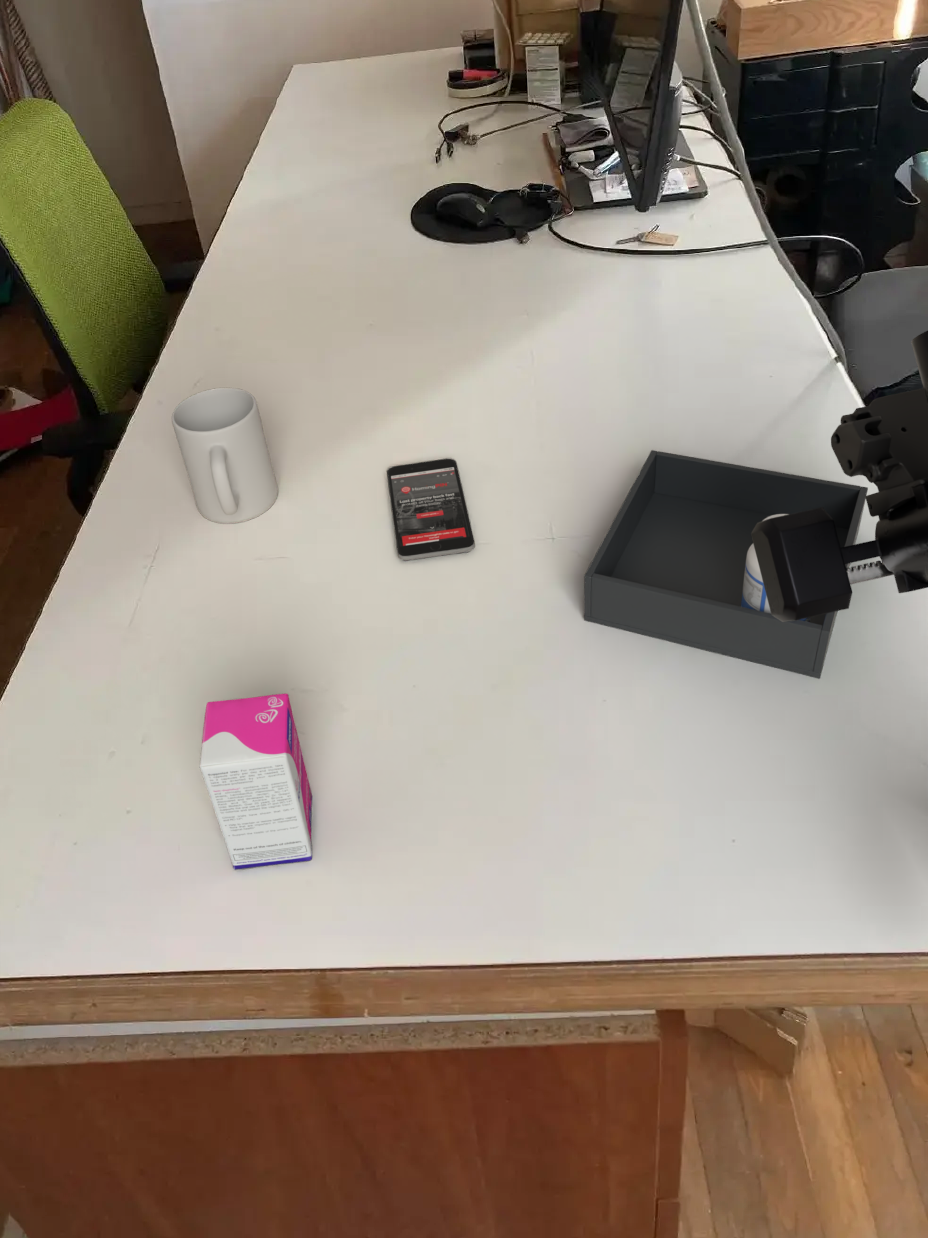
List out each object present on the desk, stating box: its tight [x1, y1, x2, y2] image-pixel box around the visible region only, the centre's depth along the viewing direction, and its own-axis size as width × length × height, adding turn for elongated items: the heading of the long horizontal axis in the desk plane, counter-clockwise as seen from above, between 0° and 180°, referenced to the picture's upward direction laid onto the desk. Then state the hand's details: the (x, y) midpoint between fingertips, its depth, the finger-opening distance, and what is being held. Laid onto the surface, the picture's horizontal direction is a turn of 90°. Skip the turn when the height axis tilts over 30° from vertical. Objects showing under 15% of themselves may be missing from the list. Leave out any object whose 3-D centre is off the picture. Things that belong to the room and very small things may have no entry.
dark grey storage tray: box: [583, 449, 869, 679], centre depth 88 cm, size 19×19×5 cm
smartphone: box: [386, 457, 476, 561], centre depth 101 cm, size 7×1×15 cm
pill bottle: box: [741, 514, 810, 622], centre depth 81 cm, size 6×5×10 cm
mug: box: [171, 387, 279, 525], centre depth 101 cm, size 12×8×11 cm
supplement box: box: [199, 692, 313, 871], centre depth 70 cm, size 6×6×12 cm
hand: (845, 555), depth 70 cm, fingers open, 9 cm apart
